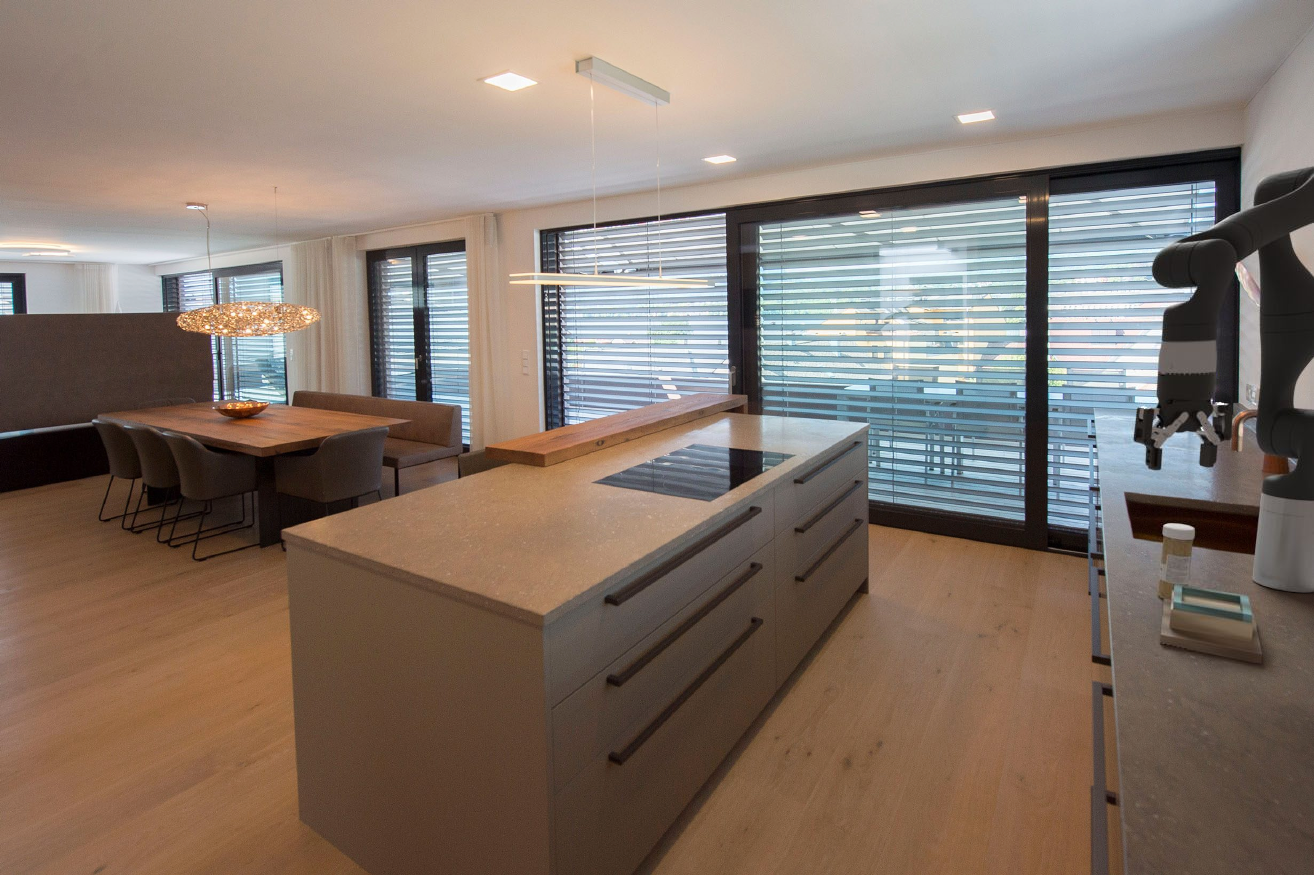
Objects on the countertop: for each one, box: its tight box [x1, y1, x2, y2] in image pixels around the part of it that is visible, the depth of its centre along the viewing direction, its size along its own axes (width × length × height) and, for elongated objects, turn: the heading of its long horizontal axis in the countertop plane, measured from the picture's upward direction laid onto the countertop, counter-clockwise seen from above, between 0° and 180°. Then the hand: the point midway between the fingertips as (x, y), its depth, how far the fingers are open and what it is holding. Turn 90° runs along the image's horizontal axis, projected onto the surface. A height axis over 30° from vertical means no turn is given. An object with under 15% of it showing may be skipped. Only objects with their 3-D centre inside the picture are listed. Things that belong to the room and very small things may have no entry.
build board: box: [1159, 584, 1263, 665], centre depth 113 cm, size 18×12×6 cm, turn 143°
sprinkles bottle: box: [1157, 522, 1196, 600], centre depth 127 cm, size 5×5×13 cm
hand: (1180, 468), depth 116 cm, fingers open, 8 cm apart
